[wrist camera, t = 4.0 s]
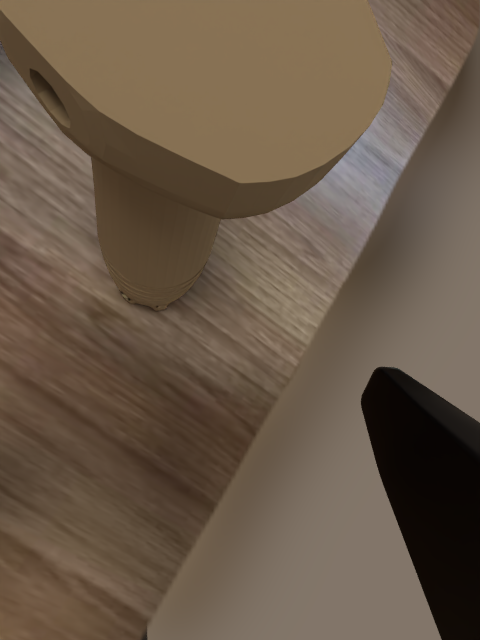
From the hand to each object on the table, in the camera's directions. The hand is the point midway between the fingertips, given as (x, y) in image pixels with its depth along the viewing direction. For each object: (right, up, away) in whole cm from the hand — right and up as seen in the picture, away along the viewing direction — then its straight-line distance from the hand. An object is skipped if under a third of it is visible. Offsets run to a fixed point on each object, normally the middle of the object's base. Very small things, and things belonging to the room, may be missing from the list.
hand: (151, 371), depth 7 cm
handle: (-3, +3, +12) cm, 13 cm away
